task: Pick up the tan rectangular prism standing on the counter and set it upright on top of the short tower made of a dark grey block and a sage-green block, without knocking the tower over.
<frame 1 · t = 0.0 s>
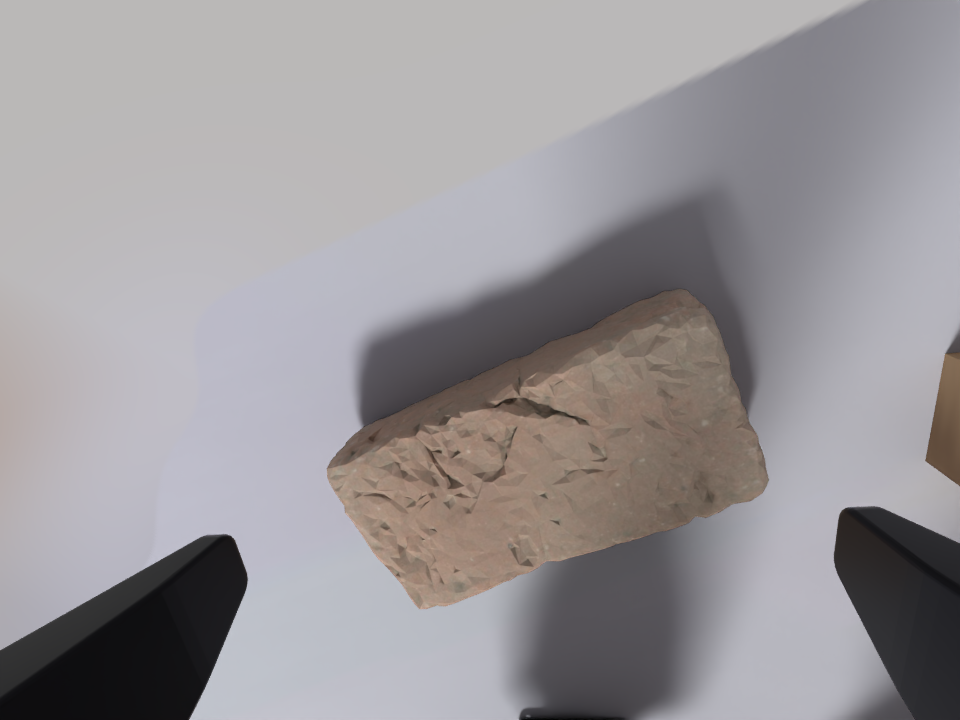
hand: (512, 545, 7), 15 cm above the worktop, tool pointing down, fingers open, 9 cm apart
brick: (540, 426, 24), on the worktop
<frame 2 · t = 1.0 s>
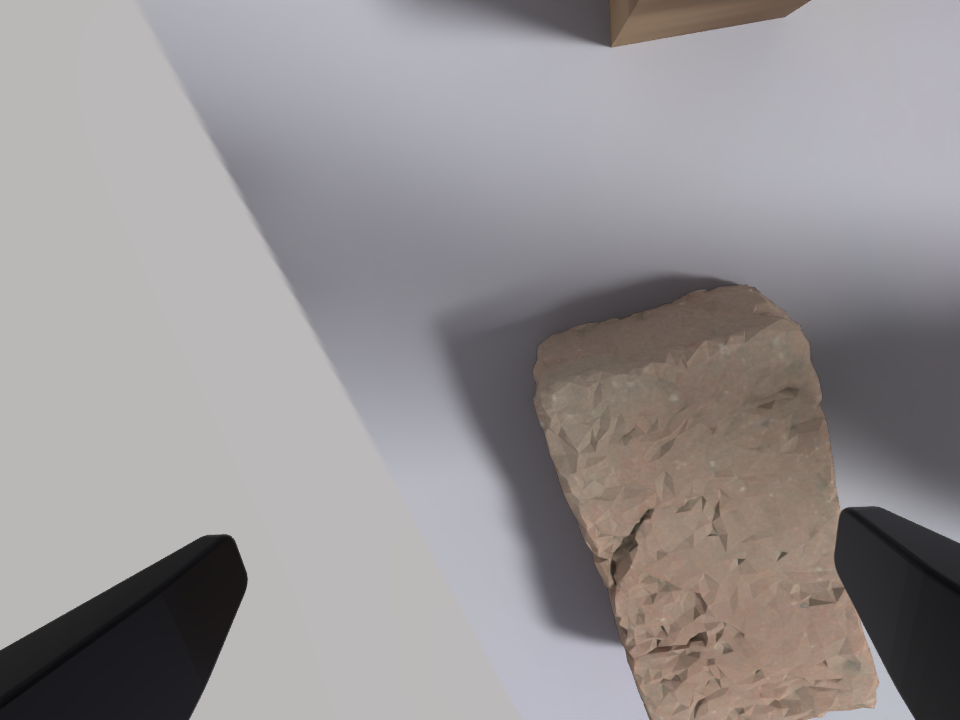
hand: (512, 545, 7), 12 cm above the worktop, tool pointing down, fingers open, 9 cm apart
brick: (680, 486, 21), on the worktop
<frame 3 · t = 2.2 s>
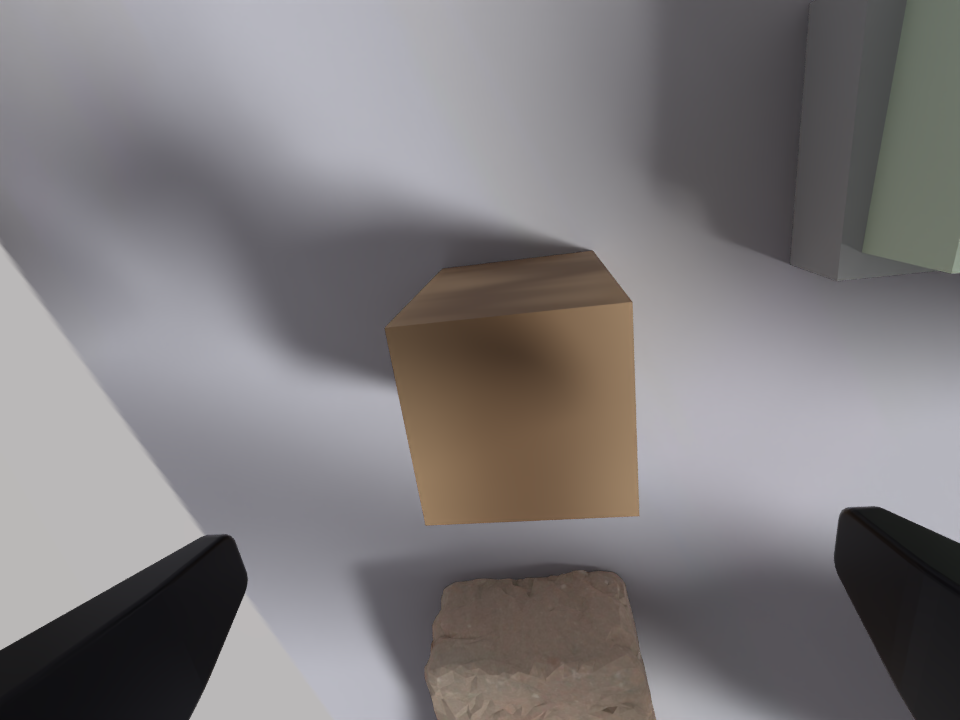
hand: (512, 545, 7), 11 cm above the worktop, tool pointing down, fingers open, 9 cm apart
brick: (558, 699, 24), on the worktop
tan rectangular prism: (523, 331, 17), on the worktop
base block: (924, 126, 14), on the worktop, touching top block
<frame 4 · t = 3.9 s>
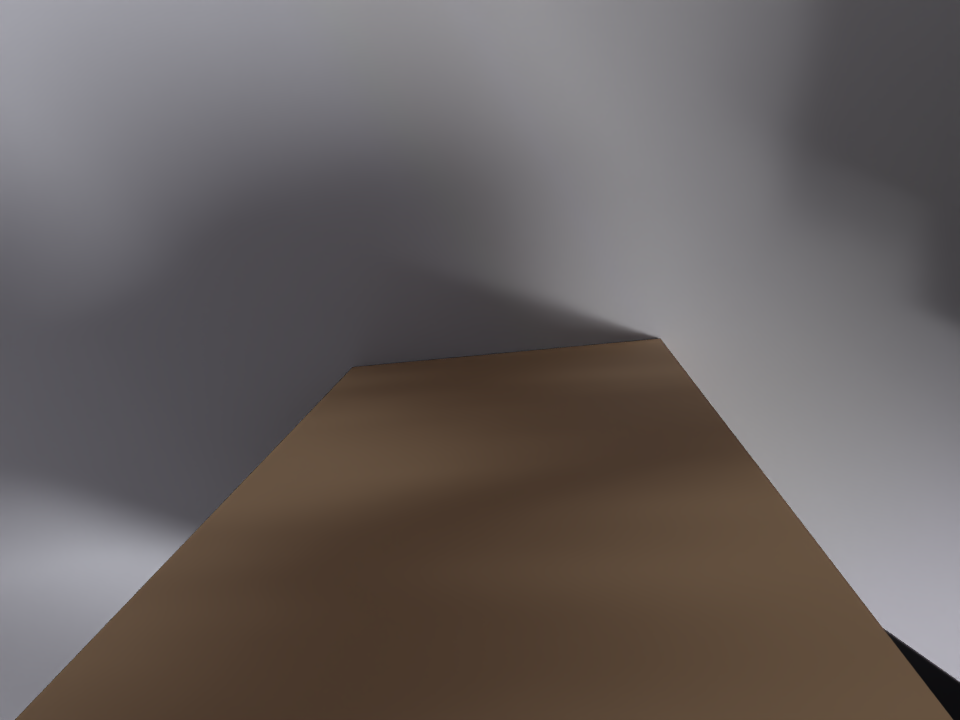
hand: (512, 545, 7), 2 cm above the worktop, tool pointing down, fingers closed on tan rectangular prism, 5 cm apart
tan rectangular prism: (516, 484, 9), on the worktop, touching gripper
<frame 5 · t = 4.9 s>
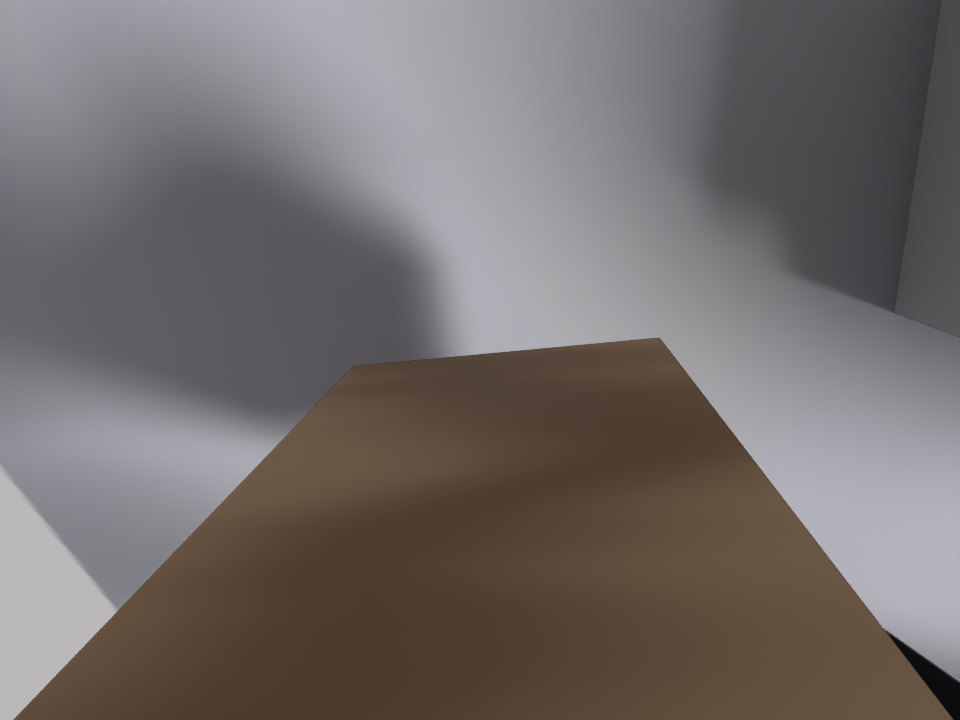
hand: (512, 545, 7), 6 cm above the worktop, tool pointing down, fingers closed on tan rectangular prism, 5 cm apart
tan rectangular prism: (516, 483, 9), point 4 cm above the worktop, touching gripper
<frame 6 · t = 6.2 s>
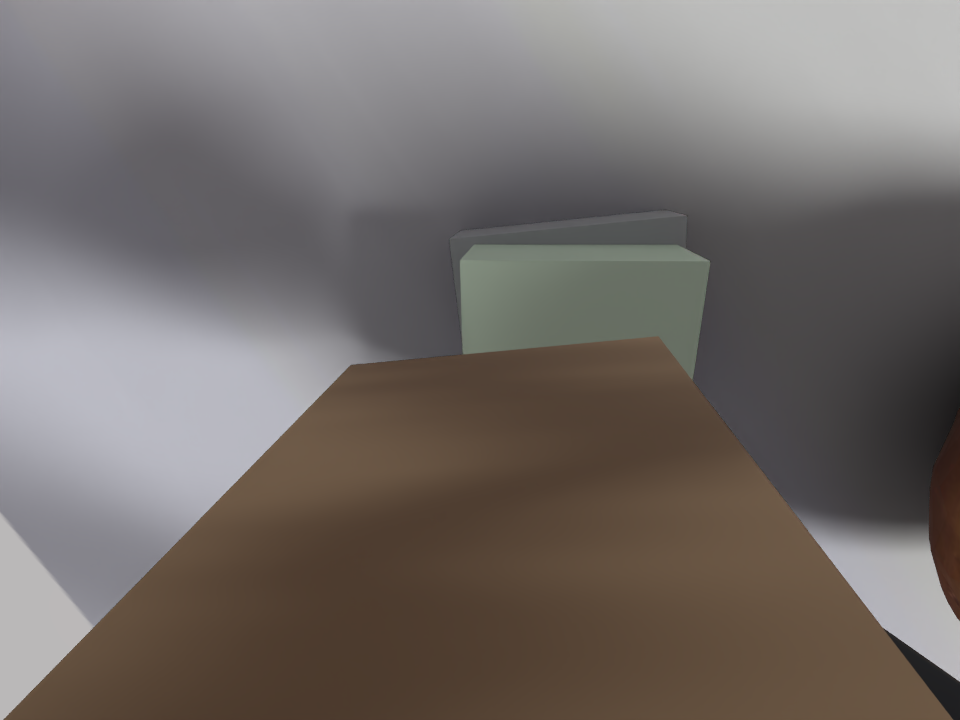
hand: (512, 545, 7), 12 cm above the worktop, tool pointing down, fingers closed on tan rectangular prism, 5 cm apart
tan rectangular prism: (514, 483, 9), point 10 cm above the worktop, touching gripper
top block: (568, 339, 16), point 3 cm above the worktop, touching base block
base block: (564, 314, 19), on the worktop, touching top block
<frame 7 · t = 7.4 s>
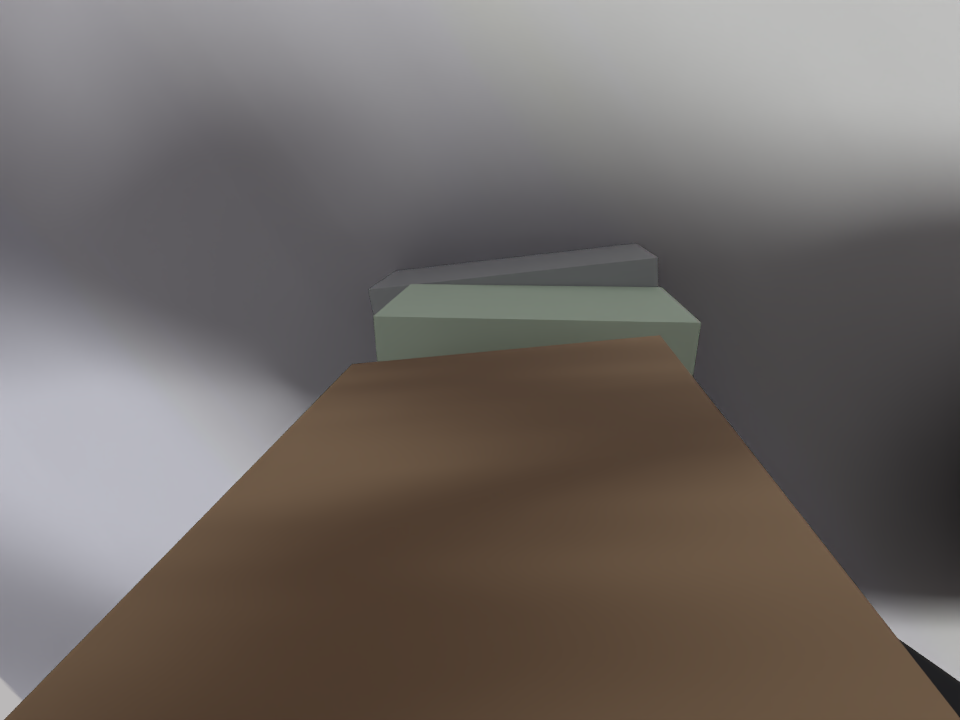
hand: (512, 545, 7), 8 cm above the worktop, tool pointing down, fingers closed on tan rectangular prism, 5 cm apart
tan rectangular prism: (516, 482, 9), point 7 cm above the worktop, touching gripper
top block: (529, 398, 13), point 3 cm above the worktop, touching base block
base block: (524, 365, 16), on the worktop, touching top block
when the fingers open (8 cm above the worktop, at t = 7.9 s): tan rectangular prism drops 1 cm, resting on top block.
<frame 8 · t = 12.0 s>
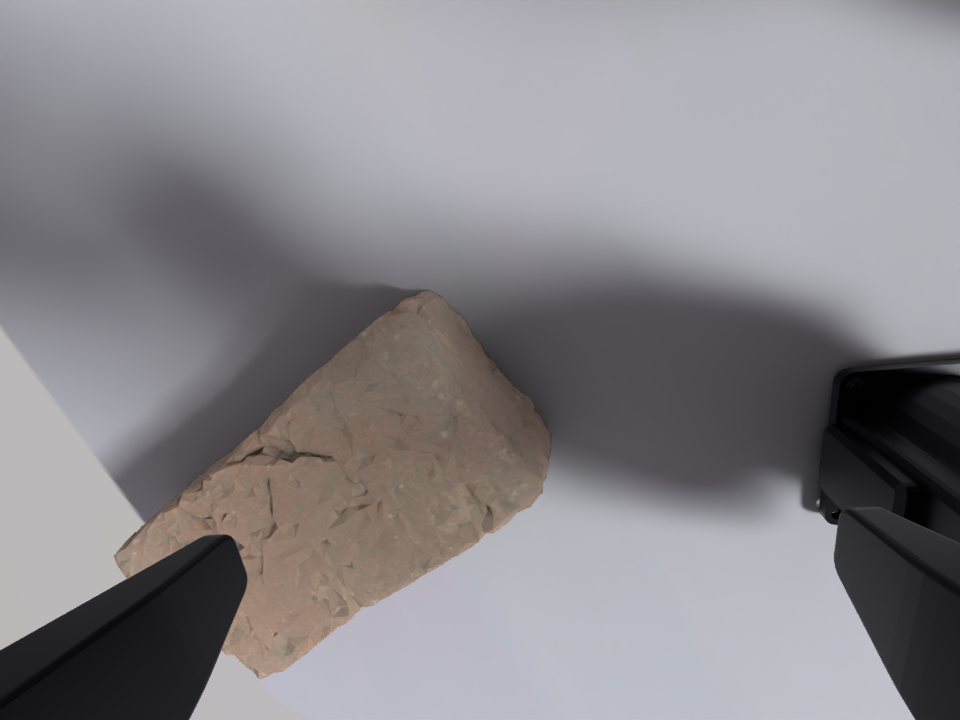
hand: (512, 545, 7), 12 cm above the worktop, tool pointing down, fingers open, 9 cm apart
brick: (355, 461, 22), on the worktop
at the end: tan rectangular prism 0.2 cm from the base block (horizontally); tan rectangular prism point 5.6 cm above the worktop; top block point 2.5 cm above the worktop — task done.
